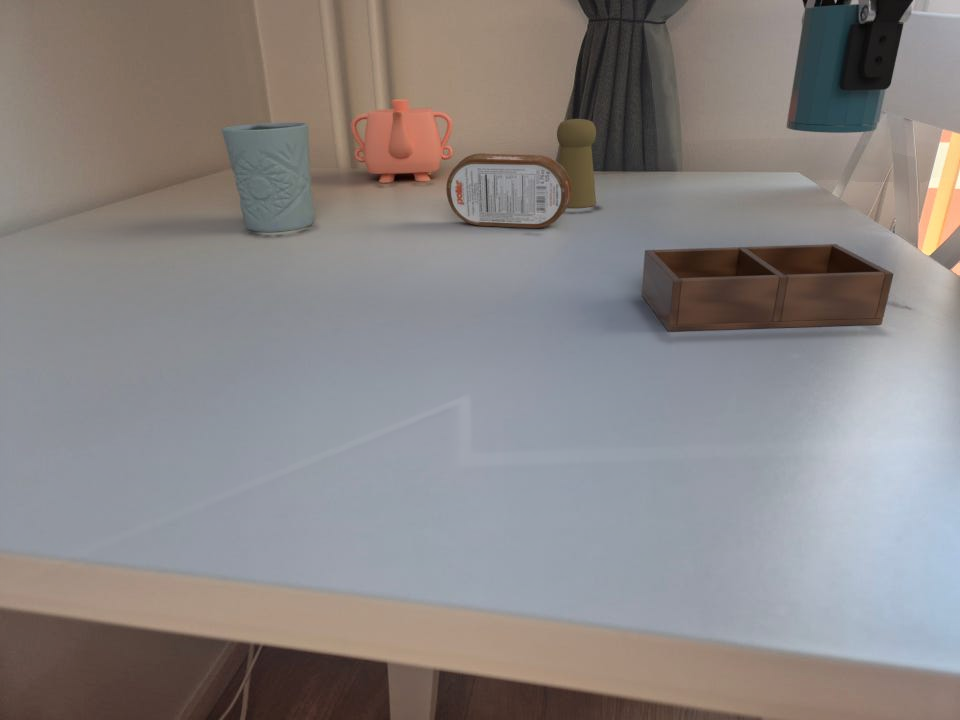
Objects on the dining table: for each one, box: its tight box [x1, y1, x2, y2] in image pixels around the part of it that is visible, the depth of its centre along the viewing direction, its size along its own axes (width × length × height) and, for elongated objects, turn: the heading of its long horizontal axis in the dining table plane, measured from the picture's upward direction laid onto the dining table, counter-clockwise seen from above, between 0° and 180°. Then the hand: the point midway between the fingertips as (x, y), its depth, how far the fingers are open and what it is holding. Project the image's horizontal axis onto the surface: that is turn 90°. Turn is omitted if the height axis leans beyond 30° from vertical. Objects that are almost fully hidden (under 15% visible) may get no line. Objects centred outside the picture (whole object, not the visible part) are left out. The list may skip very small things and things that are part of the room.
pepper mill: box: [556, 118, 597, 209], centre depth 91 cm, size 6×6×11 cm
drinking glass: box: [221, 122, 315, 233], centre depth 84 cm, size 10×10×12 cm
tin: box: [445, 152, 571, 229], centre depth 81 cm, size 15×3×8 cm, turn 74°
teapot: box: [350, 98, 454, 184], centre depth 114 cm, size 15×17×13 cm
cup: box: [786, 3, 887, 134], centre depth 48 cm, size 6×6×8 cm
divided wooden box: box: [640, 243, 894, 332], centre depth 54 cm, size 16×8×4 cm, turn 91°
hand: (838, 84), depth 49 cm, fingers closed on cup, 6 cm apart
